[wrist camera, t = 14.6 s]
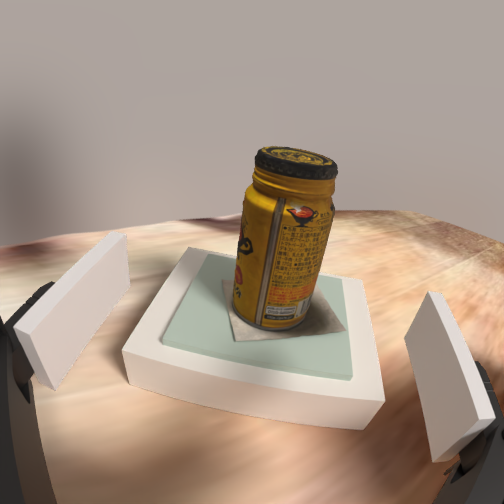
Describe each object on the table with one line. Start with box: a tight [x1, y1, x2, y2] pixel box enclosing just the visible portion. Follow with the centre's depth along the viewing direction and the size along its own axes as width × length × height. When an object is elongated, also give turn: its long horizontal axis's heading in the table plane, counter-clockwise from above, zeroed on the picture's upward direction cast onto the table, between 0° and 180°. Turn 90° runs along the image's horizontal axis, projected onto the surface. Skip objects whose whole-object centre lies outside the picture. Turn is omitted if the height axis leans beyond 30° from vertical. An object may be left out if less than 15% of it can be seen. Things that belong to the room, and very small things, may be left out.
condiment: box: [221, 146, 347, 341], centre depth 22 cm, size 7×8×12 cm
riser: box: [122, 247, 385, 430], centre depth 26 cm, size 18×15×5 cm
